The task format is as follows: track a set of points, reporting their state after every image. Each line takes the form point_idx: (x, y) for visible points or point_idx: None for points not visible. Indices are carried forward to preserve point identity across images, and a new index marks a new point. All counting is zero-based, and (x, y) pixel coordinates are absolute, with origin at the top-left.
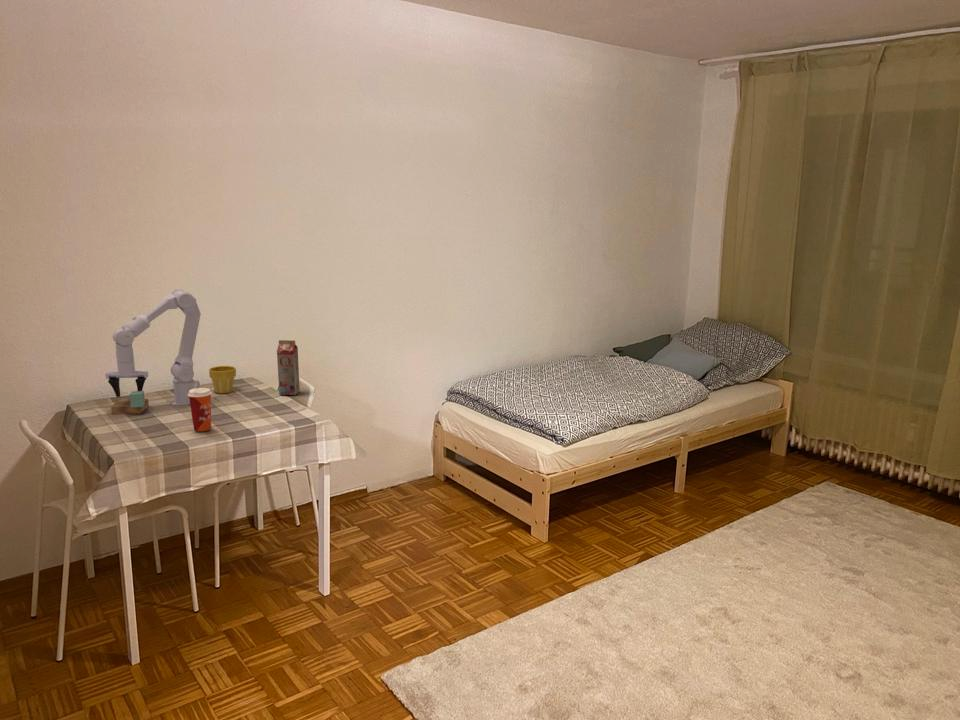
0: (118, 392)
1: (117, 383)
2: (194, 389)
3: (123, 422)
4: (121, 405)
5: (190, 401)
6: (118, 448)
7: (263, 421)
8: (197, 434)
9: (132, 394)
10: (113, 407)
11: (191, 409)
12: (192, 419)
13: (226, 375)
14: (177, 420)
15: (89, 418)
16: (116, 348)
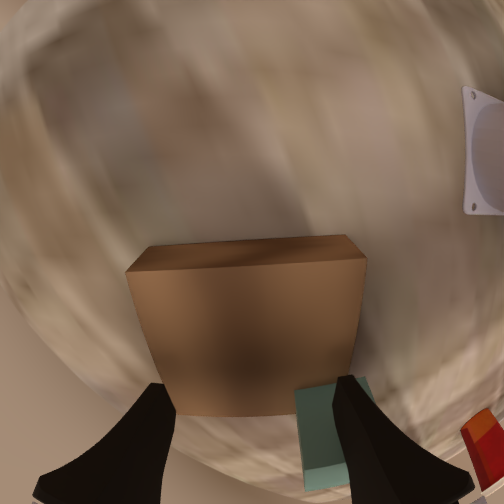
0: (163, 432)
1: (138, 496)
2: (501, 486)
3: (288, 442)
4: (224, 404)
5: (479, 482)
6: (325, 498)
7: None
8: (457, 439)
9: (322, 487)
10: (190, 412)
11: (474, 468)
12: (467, 449)
13: None
14: (451, 400)
15: (127, 404)
16: None
